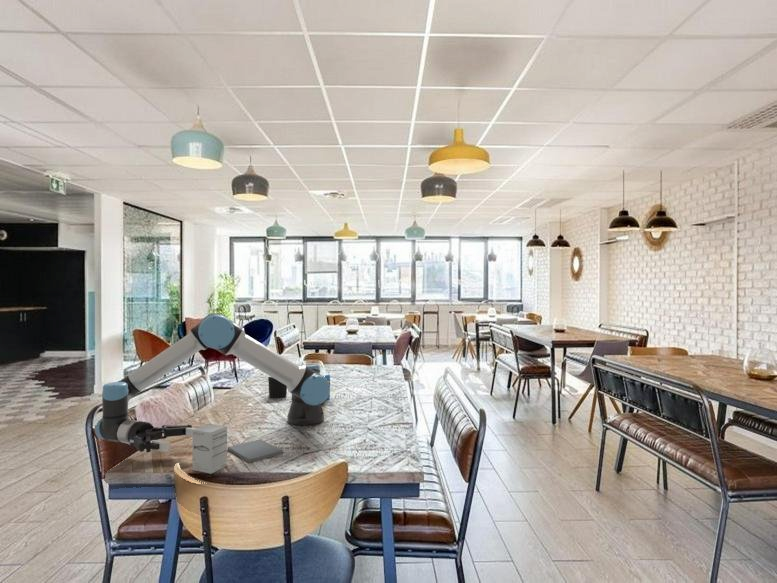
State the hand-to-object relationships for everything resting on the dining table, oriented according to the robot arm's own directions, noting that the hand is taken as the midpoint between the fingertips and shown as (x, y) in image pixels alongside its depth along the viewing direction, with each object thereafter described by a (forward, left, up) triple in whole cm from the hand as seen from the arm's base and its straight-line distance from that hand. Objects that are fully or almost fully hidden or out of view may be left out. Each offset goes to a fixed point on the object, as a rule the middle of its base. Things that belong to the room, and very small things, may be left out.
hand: (186, 440), depth 146 cm
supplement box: (+8, +4, -8) cm, 12 cm away
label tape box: (-41, +79, -8) cm, 89 cm away
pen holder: (-62, +67, -8) cm, 91 cm away
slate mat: (+4, +21, -7) cm, 23 cm away
